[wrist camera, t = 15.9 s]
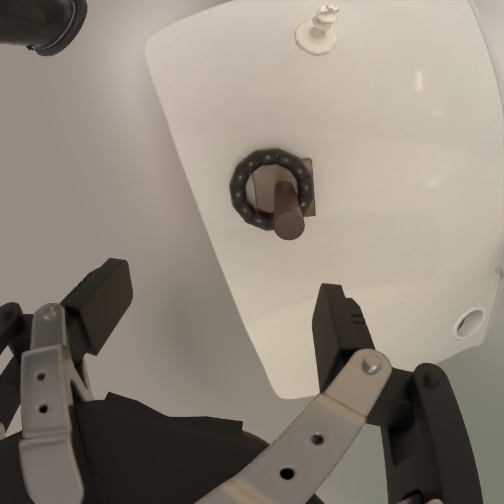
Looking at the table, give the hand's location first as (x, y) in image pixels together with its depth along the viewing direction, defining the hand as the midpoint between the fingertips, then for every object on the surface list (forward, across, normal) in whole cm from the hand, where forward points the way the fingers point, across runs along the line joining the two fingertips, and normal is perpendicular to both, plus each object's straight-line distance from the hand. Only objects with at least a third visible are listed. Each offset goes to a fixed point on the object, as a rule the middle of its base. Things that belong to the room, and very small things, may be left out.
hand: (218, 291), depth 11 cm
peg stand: (+24, -4, +1) cm, 24 cm away
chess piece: (+24, -6, -19) cm, 31 cm away
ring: (+22, -2, +1) cm, 22 cm away
